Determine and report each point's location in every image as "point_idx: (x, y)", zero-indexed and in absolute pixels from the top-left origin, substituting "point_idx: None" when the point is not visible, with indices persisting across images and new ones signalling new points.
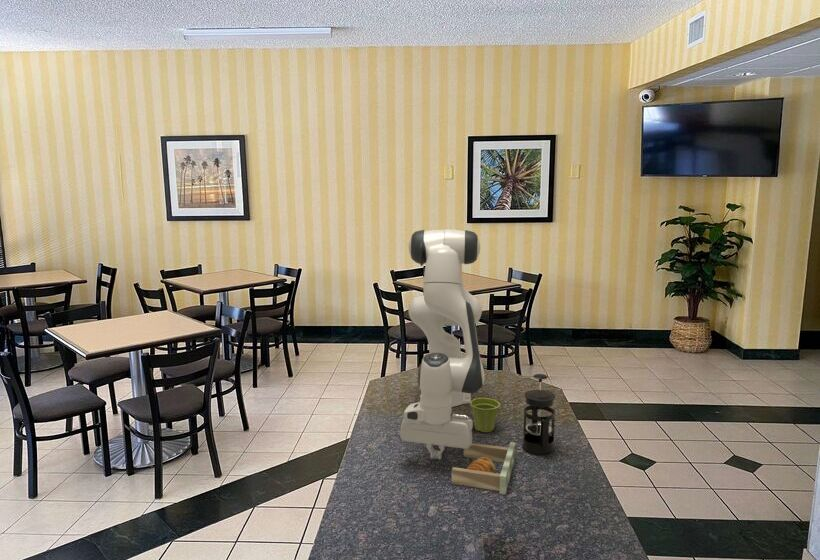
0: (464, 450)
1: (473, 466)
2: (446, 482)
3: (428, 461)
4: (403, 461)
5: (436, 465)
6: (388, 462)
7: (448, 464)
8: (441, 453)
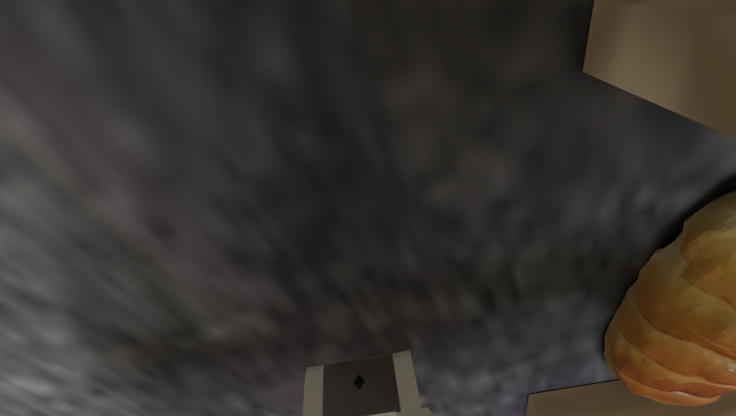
0: (659, 99)
1: (728, 382)
2: (494, 412)
3: (266, 288)
4: (88, 360)
5: (361, 308)
6: (11, 404)
7: (451, 261)
8: (418, 395)
